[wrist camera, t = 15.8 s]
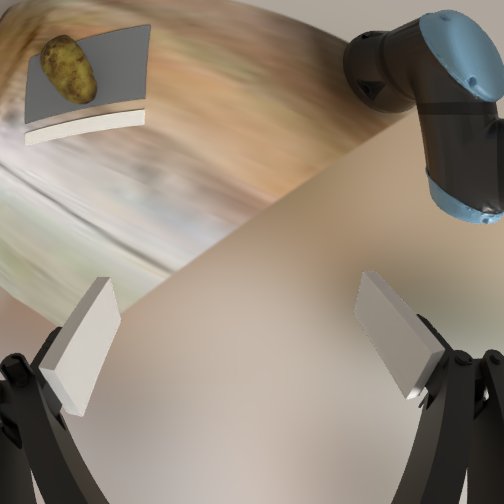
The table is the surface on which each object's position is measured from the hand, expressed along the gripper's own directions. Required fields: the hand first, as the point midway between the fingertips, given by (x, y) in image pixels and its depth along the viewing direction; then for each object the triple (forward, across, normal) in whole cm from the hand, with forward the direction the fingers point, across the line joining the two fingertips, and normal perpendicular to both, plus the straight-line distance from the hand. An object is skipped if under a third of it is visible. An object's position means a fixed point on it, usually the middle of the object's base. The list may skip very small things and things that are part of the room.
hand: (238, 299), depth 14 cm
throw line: (+31, -25, +11) cm, 41 cm away
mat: (+31, -25, +21) cm, 45 cm away
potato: (+31, -25, +21) cm, 44 cm away
